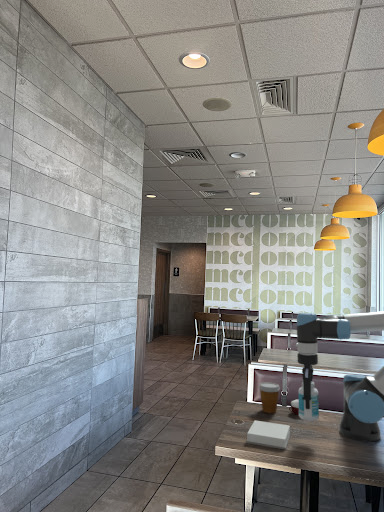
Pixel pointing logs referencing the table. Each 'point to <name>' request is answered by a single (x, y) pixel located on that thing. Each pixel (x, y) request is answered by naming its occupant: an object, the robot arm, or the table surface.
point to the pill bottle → (314, 403)
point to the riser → (269, 434)
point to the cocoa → (295, 407)
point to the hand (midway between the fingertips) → (308, 413)
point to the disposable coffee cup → (269, 396)
